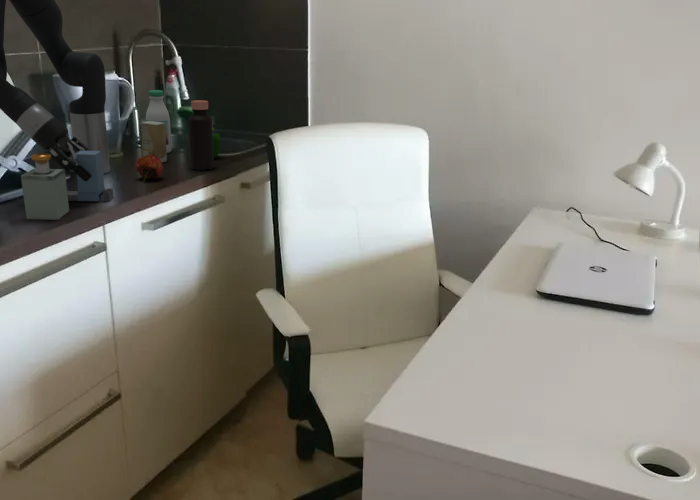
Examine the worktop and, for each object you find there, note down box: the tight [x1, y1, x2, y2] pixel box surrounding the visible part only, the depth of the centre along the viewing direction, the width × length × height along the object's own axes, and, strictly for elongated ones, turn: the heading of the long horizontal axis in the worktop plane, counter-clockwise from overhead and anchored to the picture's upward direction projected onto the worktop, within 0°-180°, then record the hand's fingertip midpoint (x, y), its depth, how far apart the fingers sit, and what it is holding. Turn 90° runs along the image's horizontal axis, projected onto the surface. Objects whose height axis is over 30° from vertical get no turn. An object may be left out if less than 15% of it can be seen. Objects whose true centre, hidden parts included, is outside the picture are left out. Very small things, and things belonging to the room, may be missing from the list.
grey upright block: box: [20, 168, 70, 221], centre depth 155 cm, size 7×7×10 cm
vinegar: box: [188, 99, 215, 171], centre depth 203 cm, size 7×7×20 cm
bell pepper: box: [212, 127, 222, 159], centre depth 218 cm, size 8×8×10 cm
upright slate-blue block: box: [75, 151, 106, 202], centre depth 168 cm, size 6×5×12 cm
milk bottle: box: [145, 89, 173, 154], centre depth 224 cm, size 8×8×20 cm
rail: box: [67, 188, 114, 202], centre depth 170 cm, size 4×20×2 cm, turn 92°
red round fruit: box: [135, 154, 164, 183], centre depth 190 cm, size 7×7×10 cm
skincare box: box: [140, 120, 168, 163], centre depth 211 cm, size 6×4×12 cm
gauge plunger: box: [30, 152, 52, 175], centre depth 153 cm, size 4×4×7 cm
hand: (94, 174), depth 168 cm, fingers open, 8 cm apart
